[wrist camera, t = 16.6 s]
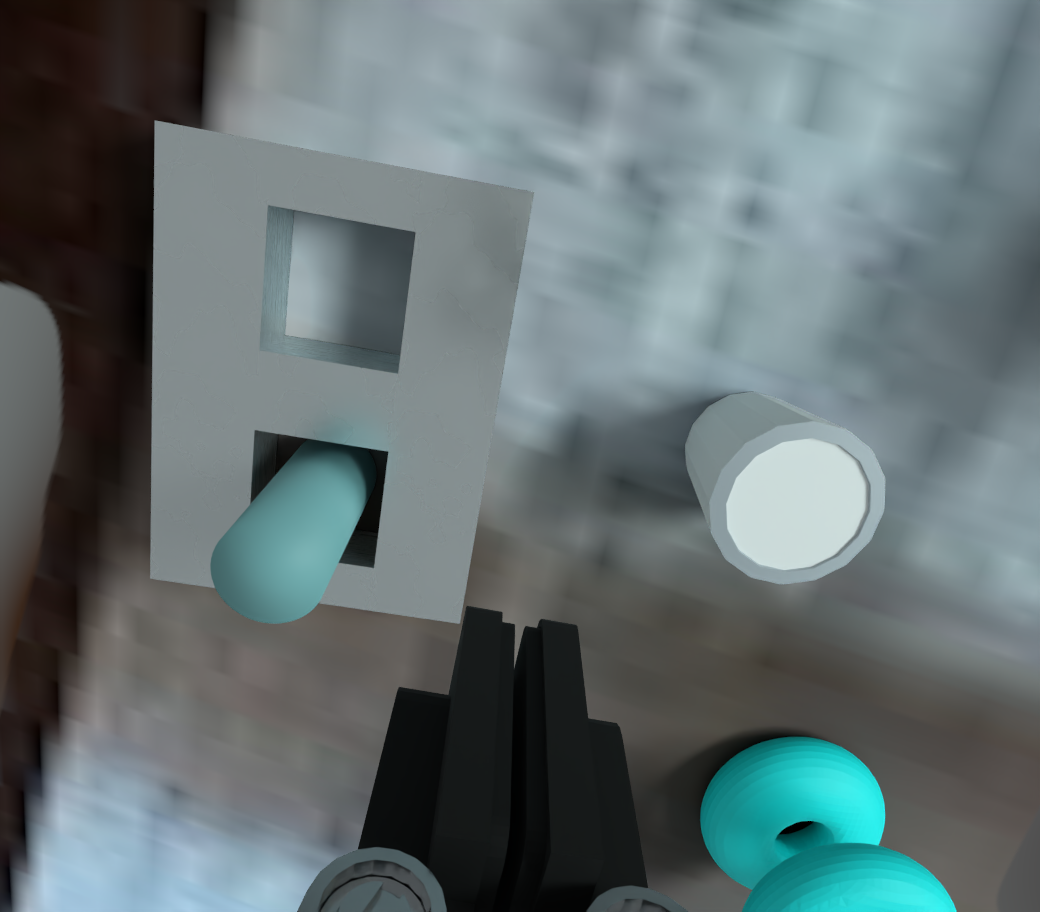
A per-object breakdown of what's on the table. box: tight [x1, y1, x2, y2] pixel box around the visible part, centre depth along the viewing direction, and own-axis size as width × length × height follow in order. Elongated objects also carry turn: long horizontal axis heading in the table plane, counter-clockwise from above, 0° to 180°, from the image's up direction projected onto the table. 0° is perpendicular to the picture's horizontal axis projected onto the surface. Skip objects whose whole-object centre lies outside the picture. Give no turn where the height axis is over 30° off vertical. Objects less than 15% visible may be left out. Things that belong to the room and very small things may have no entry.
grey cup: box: [685, 392, 885, 584], centre depth 31 cm, size 7×7×7 cm
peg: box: [210, 439, 377, 623], centre depth 30 cm, size 4×4×10 cm
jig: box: [150, 121, 534, 624], centre depth 31 cm, size 19×14×4 cm
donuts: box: [700, 737, 956, 912], centre depth 37 cm, size 10×10×10 cm
